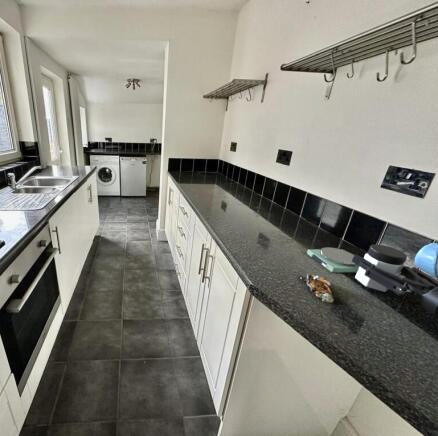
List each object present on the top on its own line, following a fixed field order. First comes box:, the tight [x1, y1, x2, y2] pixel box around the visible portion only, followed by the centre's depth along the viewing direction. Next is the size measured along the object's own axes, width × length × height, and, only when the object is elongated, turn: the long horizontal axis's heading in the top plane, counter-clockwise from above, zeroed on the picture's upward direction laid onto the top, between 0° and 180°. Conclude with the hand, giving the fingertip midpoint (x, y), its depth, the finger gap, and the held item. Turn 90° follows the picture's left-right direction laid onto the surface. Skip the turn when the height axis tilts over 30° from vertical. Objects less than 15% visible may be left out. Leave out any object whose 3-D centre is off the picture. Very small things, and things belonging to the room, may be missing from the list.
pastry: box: [300, 273, 335, 304], centre depth 72 cm, size 7×12×4 cm, turn 174°
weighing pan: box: [319, 246, 357, 266], centre depth 87 cm, size 12×12×1 cm
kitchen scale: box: [306, 248, 360, 273], centre depth 88 cm, size 15×13×2 cm
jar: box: [354, 243, 408, 293], centre depth 72 cm, size 9×8×12 cm
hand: (366, 257), depth 76 cm, fingers closed on jar, 8 cm apart
